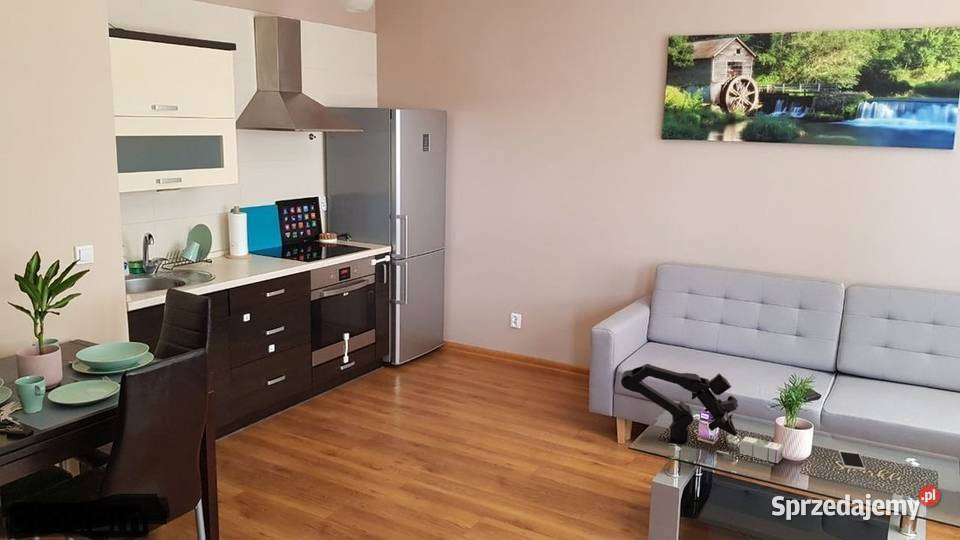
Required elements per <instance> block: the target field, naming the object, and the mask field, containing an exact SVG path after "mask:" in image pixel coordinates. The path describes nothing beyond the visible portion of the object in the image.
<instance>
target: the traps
mask: <svg viewBox="0 0 960 540" xmlns="http://www.w3.org/2000/svg"><path fill="white" fill-rule="evenodd" d="M721 459H724V460H727V461H732V462H734V461H735V460H736V458H735V459H732V458H731V457H729V454H726V453H725V454H724V453H723V456H722V457H721Z"/></svg>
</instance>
